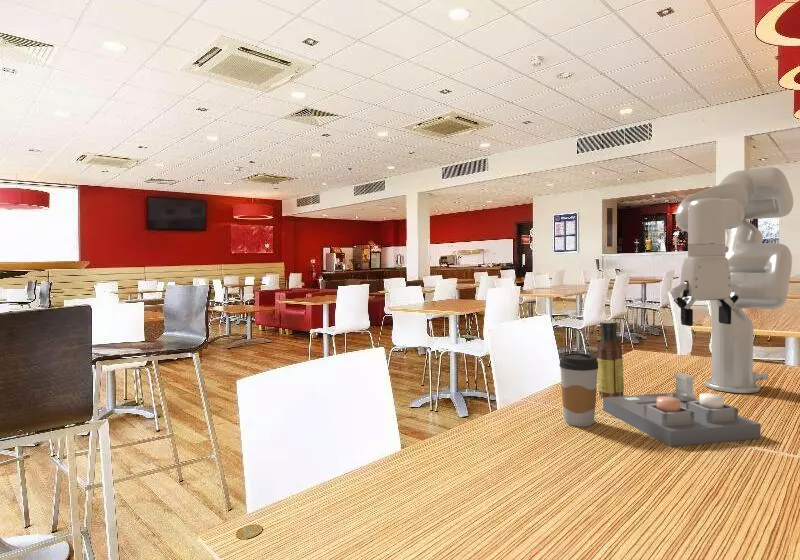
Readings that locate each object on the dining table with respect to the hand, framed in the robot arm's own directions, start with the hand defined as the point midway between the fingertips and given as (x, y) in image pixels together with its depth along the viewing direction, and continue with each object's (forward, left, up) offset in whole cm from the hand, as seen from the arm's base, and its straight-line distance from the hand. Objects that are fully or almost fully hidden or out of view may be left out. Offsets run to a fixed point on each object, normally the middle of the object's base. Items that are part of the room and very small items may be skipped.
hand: (705, 324), depth 121 cm
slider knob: (+6, +1, -17) cm, 18 cm away
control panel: (+13, +7, -21) cm, 25 cm away
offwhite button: (+9, +13, -15) cm, 22 cm away
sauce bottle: (+15, -15, -21) cm, 30 cm away
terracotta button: (+19, +13, -15) cm, 28 cm away
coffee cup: (+33, +2, -21) cm, 39 cm away
